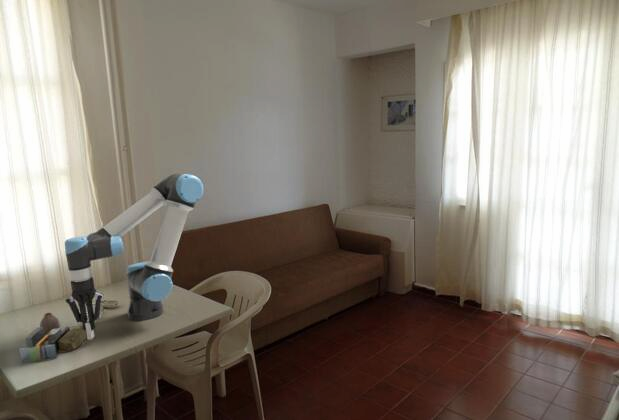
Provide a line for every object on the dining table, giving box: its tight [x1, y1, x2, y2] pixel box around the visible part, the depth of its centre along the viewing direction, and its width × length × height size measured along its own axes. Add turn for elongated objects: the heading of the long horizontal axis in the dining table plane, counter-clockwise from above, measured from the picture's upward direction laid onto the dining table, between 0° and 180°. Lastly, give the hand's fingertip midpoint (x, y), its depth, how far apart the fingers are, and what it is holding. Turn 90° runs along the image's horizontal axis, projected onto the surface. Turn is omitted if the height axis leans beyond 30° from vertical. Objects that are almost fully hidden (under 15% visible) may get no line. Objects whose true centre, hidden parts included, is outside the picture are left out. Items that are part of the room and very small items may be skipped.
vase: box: [39, 312, 61, 336], centre depth 174 cm, size 7×7×9 cm
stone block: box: [58, 326, 87, 353], centre depth 163 cm, size 6×12×5 cm, turn 4°
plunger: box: [36, 326, 71, 358], centre depth 160 cm, size 4×18×6 cm, turn 8°
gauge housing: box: [18, 326, 58, 363], centre depth 159 cm, size 12×14×7 cm
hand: (91, 337), depth 164 cm, fingers closed
